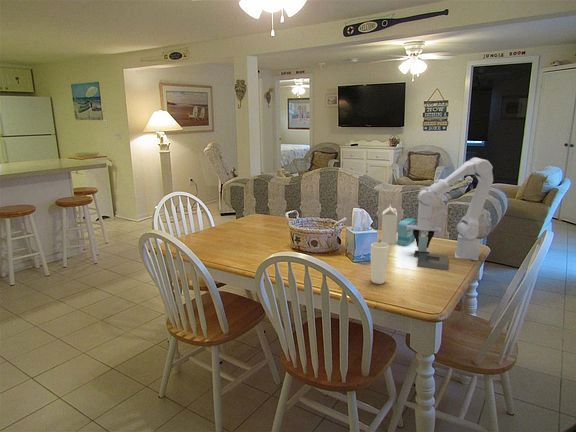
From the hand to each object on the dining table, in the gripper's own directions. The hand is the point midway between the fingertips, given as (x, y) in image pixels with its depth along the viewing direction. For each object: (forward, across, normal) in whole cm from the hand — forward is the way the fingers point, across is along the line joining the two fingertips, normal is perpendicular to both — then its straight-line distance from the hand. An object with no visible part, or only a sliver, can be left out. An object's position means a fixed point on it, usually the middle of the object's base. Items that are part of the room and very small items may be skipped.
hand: (422, 246), depth 183 cm
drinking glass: (+5, +14, +35) cm, 38 cm away
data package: (+5, +8, -17) cm, 19 cm away
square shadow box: (+5, 0, 0) cm, 5 cm away
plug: (+2, 0, 0) cm, 2 cm away
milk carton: (+5, +17, -15) cm, 23 cm away
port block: (+5, -5, +9) cm, 11 cm away
